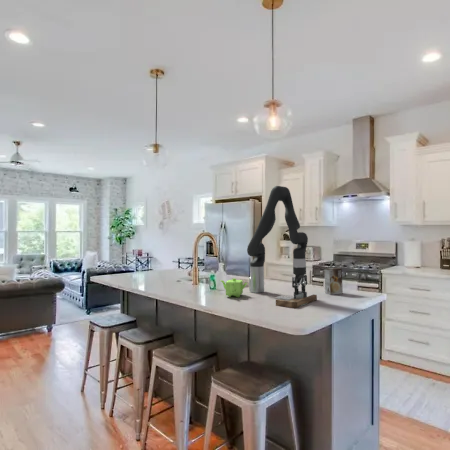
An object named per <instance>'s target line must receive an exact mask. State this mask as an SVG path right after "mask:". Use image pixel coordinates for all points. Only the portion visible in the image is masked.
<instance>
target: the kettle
mask: <svg viewBox="0 0 450 450" xmlns="http://www.w3.org/2000/svg"><path fill="white" fill-rule="evenodd" d="M219 281H220V282H221V283H222V285H223V288H224V290H225V296H227V297H228V296H229V297H228V298H232V296H235V297H236V298H240V297H241V296H242V294H243V290H244V289H245V287H246V286H247V285H248V282H244V281H243V279H237V278H236V277H235V278H232V279H228V280H227V281H226V282H225V281H224V280H219ZM243 282H244V284H243ZM240 295H241V296H240Z"/></svg>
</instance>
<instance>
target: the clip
mask: <svg viewBox="0 0 450 450" xmlns="http://www.w3.org/2000/svg"><path fill="white" fill-rule="evenodd" d="M293 297H294V299H298V300H299V299H302V298H305V297H308V291H305V292H303V291H302V290H299V295H295V291H293Z"/></svg>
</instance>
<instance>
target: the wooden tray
mask: <svg viewBox="0 0 450 450" xmlns="http://www.w3.org/2000/svg"><path fill="white" fill-rule="evenodd" d="M317 300H318V296H317V294H312V295H307V297H305V298H302V299H299V300H298V299H294V298H293V299H290V300H285V299H278V298H276V300H275V306H278V307H285V308H290V309H292V308H293V309H297V308H300V307H302V306H304V305H307V304H310V303H313V302H316V301H317Z"/></svg>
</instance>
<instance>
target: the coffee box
mask: <svg viewBox="0 0 450 450" xmlns="http://www.w3.org/2000/svg"><path fill="white" fill-rule="evenodd" d="M323 272H324V274H323V275H324V293H325V294H327V295H330V296H331V295H342V294H343V269H342V268H339V267H328V268H327V267H326V268H323Z"/></svg>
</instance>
